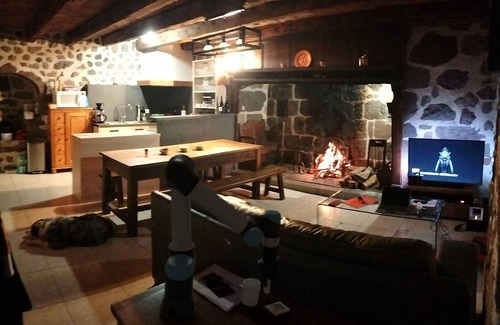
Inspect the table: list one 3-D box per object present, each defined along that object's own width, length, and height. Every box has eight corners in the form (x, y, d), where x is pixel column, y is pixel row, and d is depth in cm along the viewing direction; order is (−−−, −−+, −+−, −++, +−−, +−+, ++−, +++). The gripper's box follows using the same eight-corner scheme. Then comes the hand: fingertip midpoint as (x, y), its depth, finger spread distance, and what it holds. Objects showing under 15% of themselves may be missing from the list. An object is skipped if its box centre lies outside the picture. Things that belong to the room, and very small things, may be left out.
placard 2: (265, 307, 178) (265, 305, 178) (279, 303, 183) (279, 301, 183) (275, 315, 173) (275, 313, 172) (289, 311, 177) (289, 308, 177)
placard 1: (239, 286, 195) (239, 284, 195) (252, 283, 200) (252, 281, 199) (247, 293, 189) (247, 291, 189) (260, 289, 194) (261, 287, 194)
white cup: (256, 308, 177) (258, 288, 175) (239, 305, 179) (241, 284, 177) (260, 300, 184) (262, 280, 183) (243, 296, 186) (245, 276, 184)
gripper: (263, 250, 175) (259, 299, 179) (286, 245, 182) (282, 292, 187) (253, 243, 181) (250, 292, 185) (276, 239, 188) (272, 285, 193)
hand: (266, 292), depth 186 cm, fingers closed
